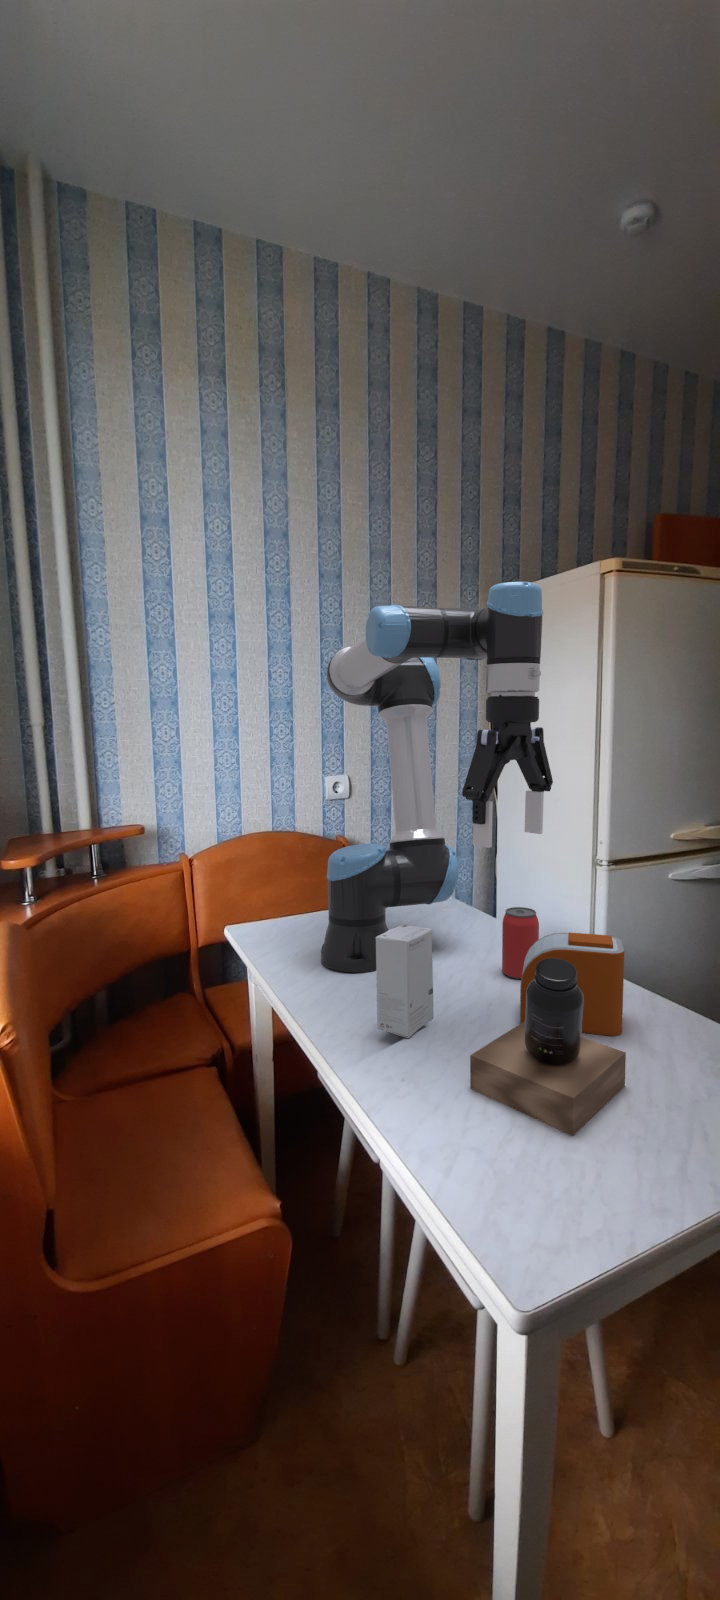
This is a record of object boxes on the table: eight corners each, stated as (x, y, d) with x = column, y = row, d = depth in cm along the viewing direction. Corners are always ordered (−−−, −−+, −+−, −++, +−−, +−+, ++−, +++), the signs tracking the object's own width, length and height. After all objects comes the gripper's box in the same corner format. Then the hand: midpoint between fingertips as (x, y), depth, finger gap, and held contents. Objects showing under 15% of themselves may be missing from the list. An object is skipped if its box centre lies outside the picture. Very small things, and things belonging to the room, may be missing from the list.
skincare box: (409, 1039, 96) (408, 942, 94) (374, 1029, 99) (373, 935, 97) (435, 1018, 103) (434, 927, 101) (402, 1009, 106) (401, 921, 104)
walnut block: (470, 1092, 83) (470, 1055, 82) (527, 1052, 93) (527, 1019, 92) (572, 1139, 73) (573, 1098, 72) (624, 1089, 83) (625, 1052, 82)
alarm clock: (618, 1013, 103) (621, 931, 102) (623, 1038, 95) (625, 949, 94) (523, 1003, 108) (524, 924, 106) (519, 1025, 100) (520, 940, 98)
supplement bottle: (532, 1023, 86) (536, 947, 82) (585, 1039, 83) (592, 960, 79) (517, 1057, 81) (520, 976, 77) (573, 1075, 78) (580, 992, 73)
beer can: (535, 967, 123) (535, 906, 122) (541, 981, 117) (542, 916, 115) (500, 966, 124) (500, 905, 123) (504, 980, 117) (504, 916, 116)
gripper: (483, 693, 82) (480, 856, 85) (578, 695, 99) (573, 830, 102) (437, 694, 87) (436, 848, 90) (535, 695, 104) (531, 824, 108)
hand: (509, 839), depth 96 cm, fingers open, 13 cm apart
